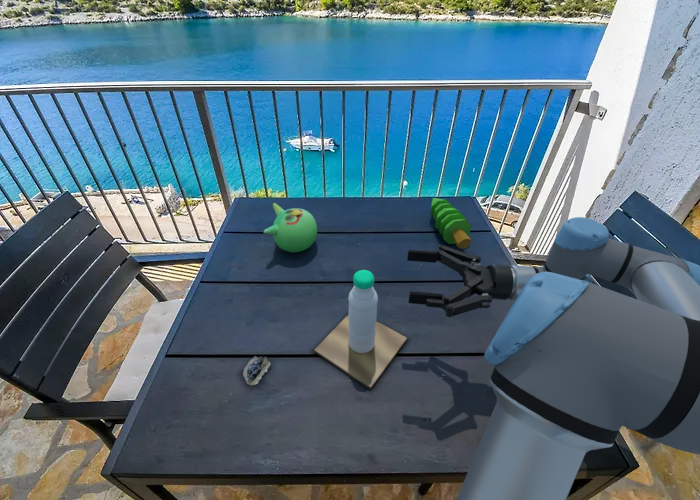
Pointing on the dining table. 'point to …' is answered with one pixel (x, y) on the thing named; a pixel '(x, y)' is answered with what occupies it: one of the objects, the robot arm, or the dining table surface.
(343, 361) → the gold metal sheet
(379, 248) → the dining table surface
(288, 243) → the toy bird
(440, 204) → the decorative tree
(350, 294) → the water bottle
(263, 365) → the geode
